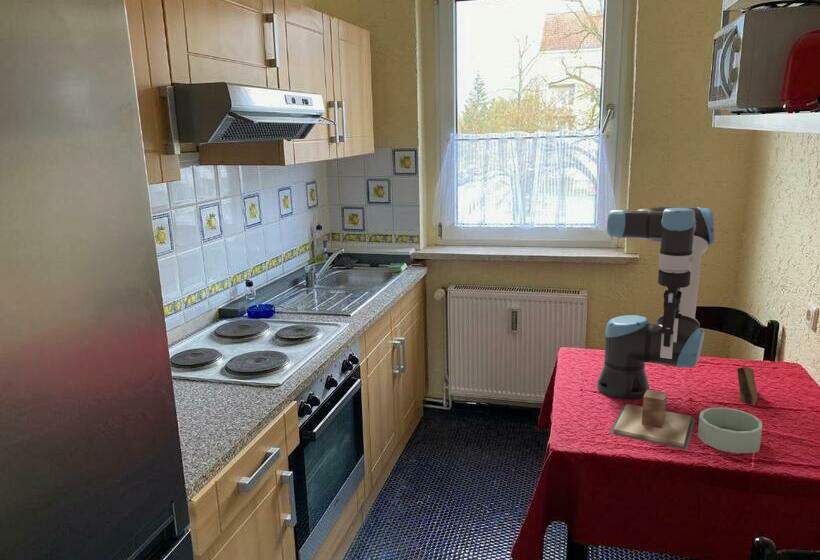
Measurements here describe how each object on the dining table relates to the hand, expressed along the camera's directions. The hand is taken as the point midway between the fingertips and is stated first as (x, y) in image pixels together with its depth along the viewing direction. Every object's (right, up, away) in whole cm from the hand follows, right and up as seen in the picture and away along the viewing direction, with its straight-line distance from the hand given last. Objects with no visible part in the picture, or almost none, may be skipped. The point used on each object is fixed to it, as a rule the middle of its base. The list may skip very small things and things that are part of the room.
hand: (668, 349), depth 160 cm
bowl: (+14, -23, -3) cm, 27 cm away
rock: (+33, -17, +22) cm, 43 cm away
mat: (-2, -22, +5) cm, 22 cm away
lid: (-2, -21, +5) cm, 22 cm away
